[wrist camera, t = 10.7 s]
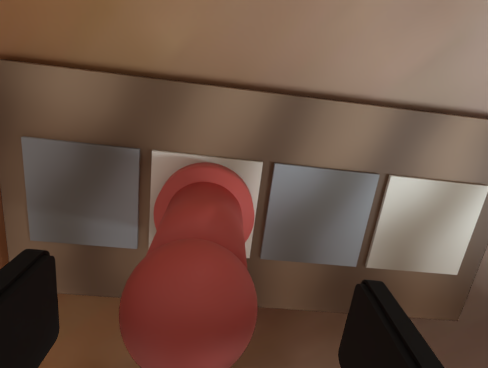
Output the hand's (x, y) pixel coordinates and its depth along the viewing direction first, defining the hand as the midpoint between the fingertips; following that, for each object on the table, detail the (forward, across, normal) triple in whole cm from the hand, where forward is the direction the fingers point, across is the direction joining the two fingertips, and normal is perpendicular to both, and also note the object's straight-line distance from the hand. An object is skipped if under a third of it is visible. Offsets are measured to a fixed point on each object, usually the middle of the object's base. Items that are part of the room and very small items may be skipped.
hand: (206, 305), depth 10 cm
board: (+9, -2, 0) cm, 9 cm away
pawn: (+7, +1, 0) cm, 7 cm away
